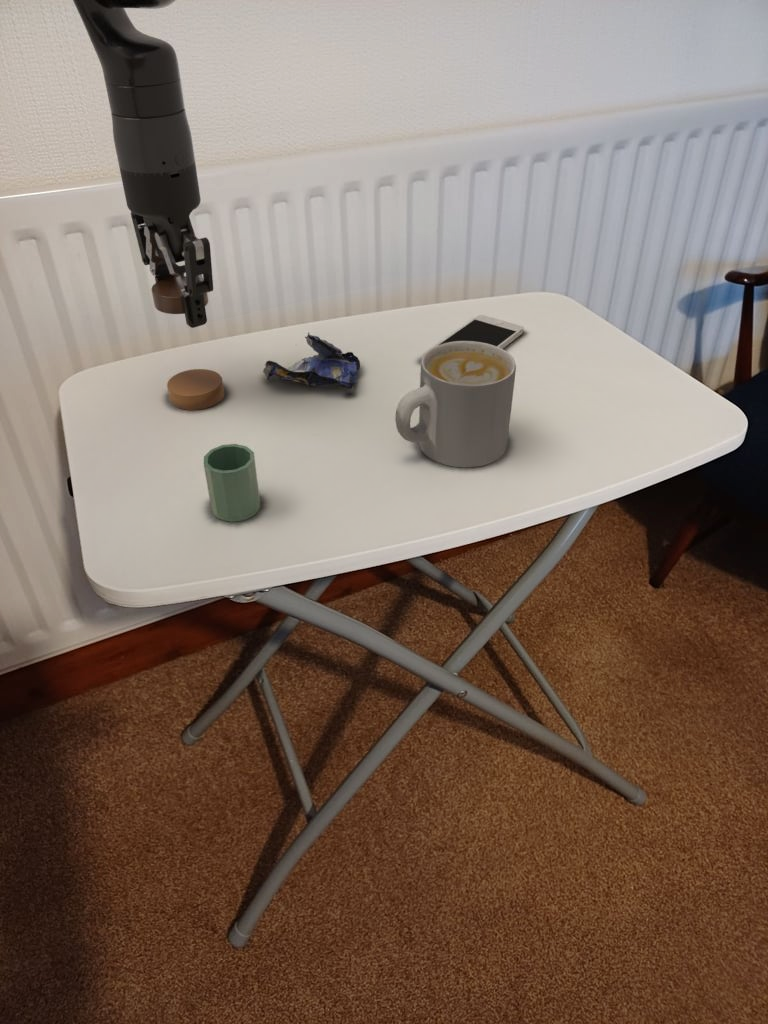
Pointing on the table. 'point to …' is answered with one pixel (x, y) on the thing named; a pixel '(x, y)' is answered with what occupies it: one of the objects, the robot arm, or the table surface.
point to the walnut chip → (170, 296)
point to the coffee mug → (461, 404)
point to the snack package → (319, 366)
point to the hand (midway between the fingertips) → (183, 314)
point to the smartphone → (486, 332)
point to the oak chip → (195, 389)
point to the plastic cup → (232, 482)
